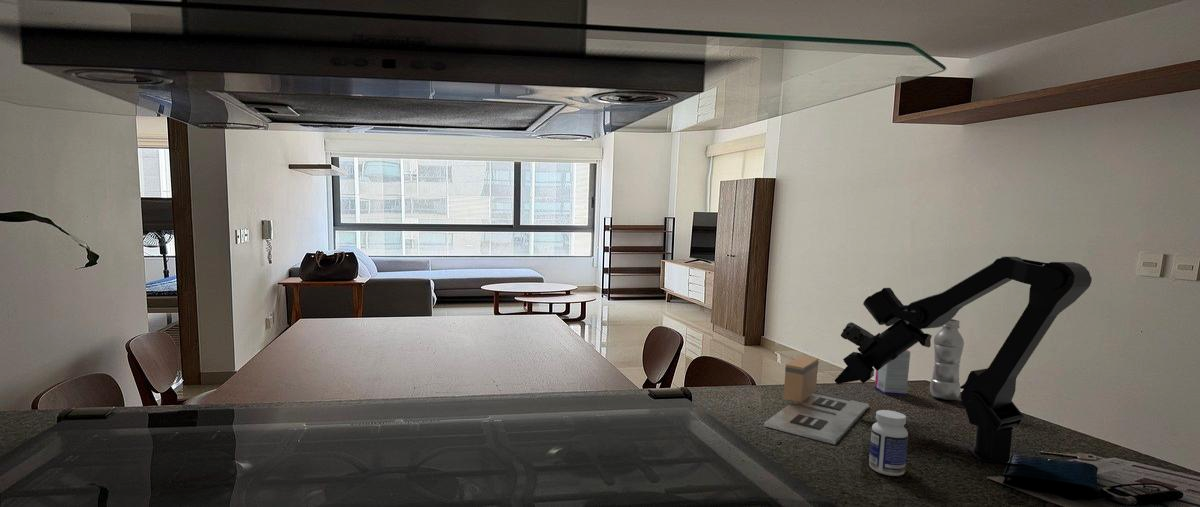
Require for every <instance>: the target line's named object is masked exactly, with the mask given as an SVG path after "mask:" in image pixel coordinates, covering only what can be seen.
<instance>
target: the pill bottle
mask: <svg viewBox="0 0 1200 507" xmlns="http://www.w3.org/2000/svg"><path fill="white" fill-rule="evenodd" d="M875 420H876V422H874V423H873V424H872V426H871V430H870V431H871V434H870V443H869V444H870V445H869V457H868V458H869V461H868V464H869V467H870V468H871V469H872V470H873V471H874V472H877V473H879V474H882V475H885V476H891V477H892V476H894V477H900V476H903V475H904V474H905V473H906V465H907V453H908V452H907V451H908V443H909V442H908V441H909V433H908V430H907V428H905V425H906V424H907V415H905V414H903V413H901V412H898V411H894V410H887V409H881V410H877V411H876V412H875Z"/></svg>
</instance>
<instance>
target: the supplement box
mask: <svg viewBox="0 0 1200 507" xmlns="http://www.w3.org/2000/svg"><path fill="white" fill-rule="evenodd" d="M910 360H911V351H909V349H907V350H906V351H904V352H903V353H902V354H900V355H899V356H898V357H897V358H895V359H894V360H892V361H890V362H889V363H887V364H886V365H884V366H883V367H882V368H881V369H879V370H878V371H877V370H876V369H875V378H874V389H875V390H877V391H879V392H880V393H882V394H883V395H890V396H893V395H894V396H906V395H907V393H908V392H907V389H908V380H909V372H910V371H909V370H910V363H911V362H910Z"/></svg>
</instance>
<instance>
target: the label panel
mask: <svg viewBox="0 0 1200 507" xmlns="http://www.w3.org/2000/svg"><path fill="white" fill-rule="evenodd" d="M869 404H870V403H866V402H862V401H857V400H851V398H847V397H842V396H837V395H833V394H828V393H823V392H818V391H815V392H814V393H813V394H811V395H810V396H809V397H807V398H806V399H805V400H803V401H802V402H797V401H791V402H790V403H789V404H788V405H786V406H785V407H784V408H782V409H781V410H779V411H778V412H777V413H775V414H774V415H772V416H771V417H770V418H769V419H767V420H765V421H764V423H763V427H766V428H767V429H768V428H769V429H773V430H777V431H781V432H784V433H788V434H793V435H795V436H799V437H803V438H807V439H812V440H815V441H819V442H822V443H827V444H829V445H830V444H831V445H834V446H835V445H836V444H837V443H838V442H839V441H840V440H841V439H842V437H843V436H844V435H845V434H846V433H847V432H848V431H849V430H850V429H851V427H853V425H854V424H855V423H856V422H857V421H858V419H860V417H861V416H862V415H863V414H864V413H865V411H867V410H868V409H869Z"/></svg>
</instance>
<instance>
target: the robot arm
mask: <svg viewBox="0 0 1200 507" xmlns="http://www.w3.org/2000/svg"><path fill="white" fill-rule="evenodd" d="M1011 281H1014V282H1015V281H1016V282H1019V283H1023V284H1026V285H1030V287H1029V291H1028V292H1029V294H1028V303H1027V306H1026V307H1025V309H1024V310H1023V312H1022V313H1021V316H1020V317H1019V319H1018V320H1017V322H1015V325H1014V326H1013V328H1012V329H1011V331H1010V333H1009V334H1008V336H1007V337H1006V339H1005V340H1004V342H1003V344H1002V346H1001V347H1000V348H999V350H998V352H997V353H996V355H995V357H994V358H993V360H992V361H991V363H990V364H989V365H988V367H987V368H983V369H982V368H981V369H976V370H975V369H974V370H971V371H970V373H968V376H967V378H966V381H965V382H964V384H962V385H960V390H961V392H960V396H959V398H960V400H961V403H962V406H963V407H964V408H965V410H966V415H967V418H968V422H969V425H973V426H975V433H974V442H973V444H974V445H965V449H967V450H968V452H970V453H971V454H972V455H973V456H974V457H975V458H977V459H978V460H979V461H981V462H986V463H987V462H989V463H994V464H996V463H997V464H1005V465H1008V464H1007V462H1008V461H1009V459H1010V456H1011V454H1012V453H1011V452H1012V451H1011V450H1012V446H1013V445H1012V443H1013V435H1014V434H1013V432H1014V427H1016V426H1017V427H1018V426H1020V425H1021V424H1022V422H1023V420H1024V419H1025V415H1024V414H1023V413H1022V412H1021V411H1020V409H1019V408H1018V407H1017V405H1016V404H1015V403H1014V402H1013V398H1014V396H1015V393H1016V388H1017V387H1016V386H1017V378H1018V376H1019V375H1020V373H1021V371H1022V370H1023V368H1024V367H1025V366H1026V365H1027V362H1028V361H1029V359H1030V358H1031V356H1032V355H1033V354H1034V352H1035V350H1036V349H1037V347H1038V346H1039V344H1040V343H1041V341H1042V339H1044V337H1045V335H1046V333H1047V332H1048V330H1049V329H1050V327H1051V326H1052V325H1053V323H1054V321H1055V319H1056V318H1057V317H1058V315H1060V314H1061V313H1062V312H1063V311H1065V310H1066V309H1067V308H1068V307H1070V306H1072V304H1074V303H1075V302H1076V301H1077V300H1078V299H1079V298H1080V297H1081V296H1082V295H1083V294H1084V293H1085V292H1086V291H1087V290H1089V287H1090V286H1091V284H1092V277H1091V273H1090V271H1089V270H1088V269H1087V267H1086V266H1084V265H1082V264H1081V263H1078V262H1075V261H1070V262H1069V261H1051V262H1045V261H1044V262H1043V261H1036V260H1031V259H1030V260H1029V259H1024V258H1021V257H1019V256H1001V257H997V258H996V259H995V260H994V261H993V262H992V263H989V264H988V265H987V266H985V267H983V268H981V269H980V270H978V271H977V272H975V273H973V274H971V275H969V276H967V277H966V278H965V279H963V280H961V281H959V282H958V283H956V284H955V285H952V286H951V287H949V288H948V289H946V290H944V291H941V292H939V293H936V294H933V295H929V296H926V297H924V298H920V299H918V300H915V301H912V302H910V303H909V304H906V305H904V304H903V302H902V301H901V300H900V299H899V298H898V297H897V296H896V294H895V293H894V291H893V290H892V288H891V287H883V288H882V289H881V290H880V291H879V290H878V291H876V292H874V293H873V294H871V295H868V296H867V297H866V298H865V299H864V301H863V304H862V305H863V306H864V307H865V308H866V310H867V311H868V313H869V314H870V315H871V317H872V318H873V319H874V320H875V321H876V323H877V324H878V326H879V325H880V326H884V325H885V327H888V328H887V329H885V330H883V331H881V333H880V332H878V333H877V334H875V335H874V334H872V332H870V331H869V330H866V329H864V328H863V327H862V326H860V325H858V324H856V323H854V322H851V321H850V322H848V323H847V324H846V326H845V327H844V328H843V329H842V332H841V334H840V337H841V338H842V339H844V340H848V341H849V342H851V343H853V344H854V345H855V346H857V347H858V348H857V347H856V349H857V351H852V352H851V353H850V354H848V355H847V356H845V357H844V358H842V360H843V363H845V364H846V367H845V368H844V369H843V370H842V371H841V372H840V373H839V375H838V376H836V378H835V379H834V382H835V383H836V385H840V384H845V383H851V382H855V381H856V382H857V381H860V382H861V383H862V384H865V383H866V382H868V381H869V380H870V379H872V378H873V377H874V376H875V371H876V370H877V371H878V370H879V369H881V368H882V367H883V366H884V365H886V364H887V363H889V362H890V361H892V360H894V359H895V358H897V357H898V356H899V355H900V354H902V353H903V352H904V351H906V350H909V349H911V348H912V347H913V346H914V345H916V344H917V343H919V344H920V345H921V346H922V347H925V348H931V344H932V343H931V339H932V334H930V333H925V332H924V331H923V330H926V329H936V328H942V326H943V325H945V324H946V323H947V322H948V321H949V320H951V319H953V318H955V316H956V315H957V313H958V312H959V311H960V310H961V309H963V308H964V307H965V306H967V305H969V304H971V303H973V302H974V301H976V300H978V299H980V298H982V297H984V296H986V295H987V294H988V293H991V292H993V291H995V290H997V289H998V288H1000V287H1002V286H1003V285H1006V284H1007V283H1009V282H1011Z"/></svg>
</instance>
